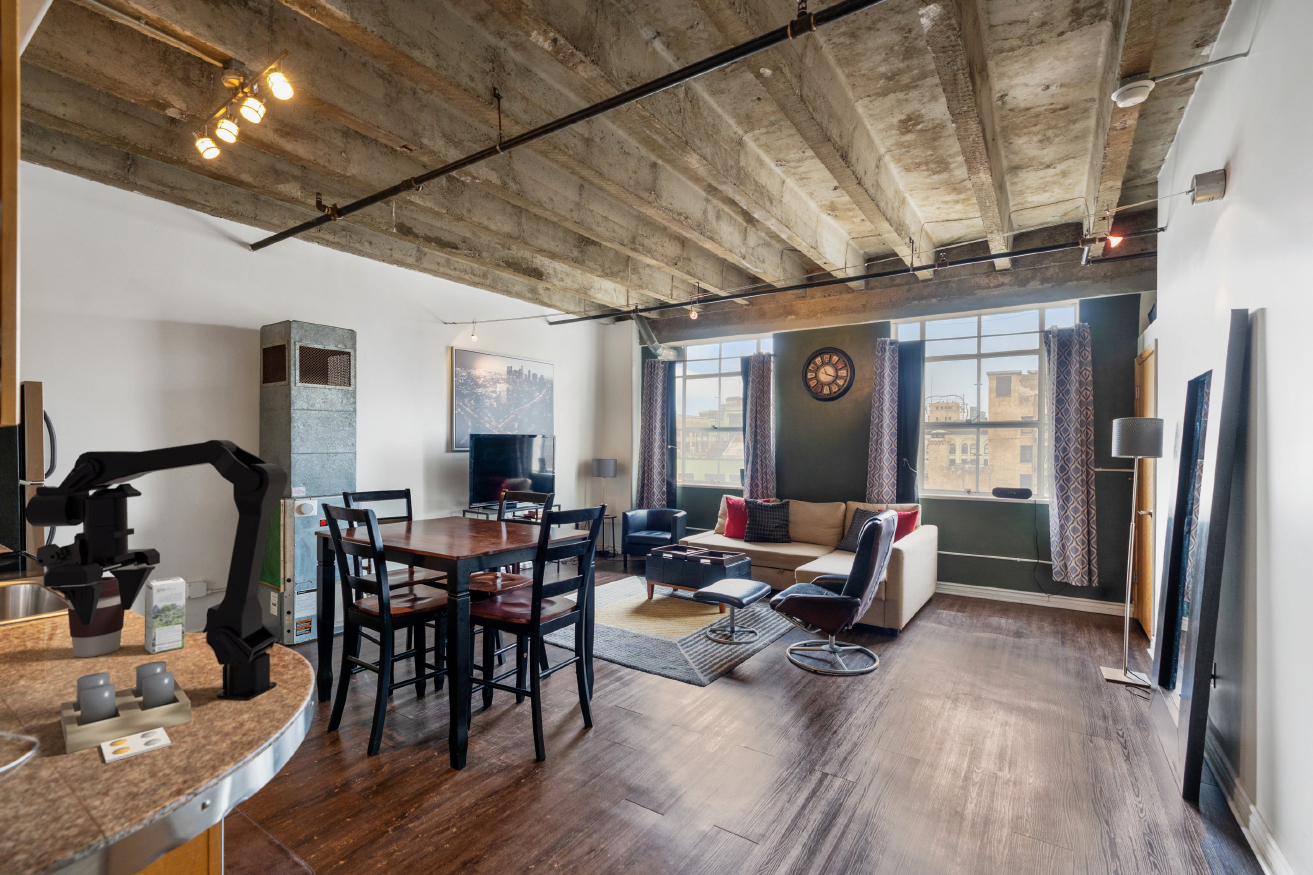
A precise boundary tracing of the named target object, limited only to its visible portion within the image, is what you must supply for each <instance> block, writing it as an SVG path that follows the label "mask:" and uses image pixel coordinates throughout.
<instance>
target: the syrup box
mask: <svg viewBox="0 0 1313 875" xmlns="http://www.w3.org/2000/svg"><path fill="white" fill-rule="evenodd" d="M186 583H187V582H186V580H184V578H182V577H180V576H174V577H165V578H159V579H152V580H146V581H145V583H144V585H145V586H144V587H145V588H144V589H145V590H144V649H145V650H146V652H147V651H148V653H150V654H152V655H153V654H160V653H164V652H169V651H170V652H171V651H174V650H178V649H183V648H185V646H186V645H185V644H186V642H185V641H186V587H187V586H186ZM181 634H185V635H181Z"/></svg>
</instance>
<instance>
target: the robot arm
mask: <svg viewBox="0 0 1313 875" xmlns="http://www.w3.org/2000/svg"><path fill="white" fill-rule="evenodd" d="M209 464H210V465H211V466H213V468H214V469H215V470H216V471H217V472H218V473H219V474H220V476H221V477H222V478H224V479H225V480H226V481H228V483H230V484H232V486H233V487H232V488H233V491H232V492H233V495H232V496H233V501H234V504H235V507H236V509H237V512H238V518H237V525H236V531H235V536H234V542H233V547H232V548H233V549H232V555H231V560H230V565H229V570H228V575H227V576H228V577H227V582H226V587H225V594H224V597H223V599H222V601H221V602H220V603H218V604H215V605H212V606H211V607H209V608H207V611H206V623H205V627H204V628H203V629H202V633H203V634H205V633H206V635H205V641H206V644H207V645H208V646H209V647H210V648H211V649H212V651H213V653H214V655H215V658H216V660H217V663H218V665H221V666H222V691H220V692H218V693H216V694H215V698H221V699H235V700H250V699H253V698H254V697H257V696H259V695H261V694H263V693H265V692H267V691H268V690H271V689H272V688H275V687H276V686H277V685H278V683H277V682H276V681H271V653H270V652H268V653H267V651H269V650H270V649H271V650H272V649H273V648H274V646H275V643H276V641H277V639H278V637H277V635H276V634H275V633H274V632H272V630H270V629H269V628H268V626H266V625H264V623H263V609H262V605H261V603H260V599H259V598H258V597H259V596H258V592H259V585H260V580H261V575H262V574H261V573H262V569H263V563H264V556H265V551H266V546H267V540H268V533H269V529H270V521H271V517H272V514H273V513H274V511H275V510H276V508H277V506H278V505H279V503H280V502H281V500H282V498H283V495H284V492H285V489H286V487H287V485H288V474H287V472H286V471H285V470H284V469H283V467H281V466H280V465H278V464H275V463H271V462H270V463H269V462H267V461H266V460H264V459H263V458H262V457H260V456H257V455H255V454H253V453H252V452H249V451H248V450H245V449H243V448H241V447H240V446H239V445H238V444H236V443H235V442H233V441H232V440H229V439H210V440H208V441H205V442H198V443H192V444H185V445H184V444H183V445H178V446H177V445H176V446H171V447H163V448H157V449H156V448H155V449H150V450H142V451H140V450H139V451H138V450H137V451H136V450H135V451H133V450H131V451H130V450H105V451H104V450H102V451H101V450H99V451H98V450H96V451H95V450H94V451H93V450H92V451H85V452H83V453H81V454H80V455H78V458H77V459H76V460H75V462H74V466H73V467H72V469H71V470H70V472H69V473H68V474H67V476H66V477H65V478H64V479H63V481H62V482H61V483H60V485H59V486H55V485H53V486H52V485H50V486H38V487H35V494H34V495H33V496H32V497H31V498H30V499H29V500H28V501H27V504H26V507H25V508H24V516H25V518H26V521H27V522H28V524H30V525H31V526H32V527H34V528H47V527H50V528H51V527H52V528H53V527H54V528H55V527H76V526H79V525H81V524H82V532H77V533H76V534H75V535H74V536H73V537H74V539H73V543H70V544H67V545H63V546H59V545H58V544H56V543H52V544H46V545H42V546H40V547H37V549H36V561H35V562H36V565H38V566H40V567H42V568H44V567H46V571H45V572H44V573H42V586H43V587H44V588H46V587H47V588H48V587H49V589H51V590H52V591H57V592H59V593H61V594H63V595H64V594H65V595H66V596H67V597H68V599H69V600H70V602H71V603H72V605H73V607H74V609H75V611H76V613H77V615H78V617H79V619H80V621H81V623H82V625H90V624H91V623H92V620H93V618H94V615H95V611H96V608H97V604H98V601H99V597H100V594H101V591H102V587H103V584H104V582H96V581H100V579H101V577H104V573H106V572H109V573H110V574H111V575H112V577H116V578H117V580H118V585H119V593H120V601H121V606H122V610H125V611H129V610H131V609H132V607H133V605H134V603H135V601H136V600H137V597H138V596H139V594H140V592H141V591H142V588H143V586H144V585H145V582H146V581H148V578H149V576H150V575H151V573H152V572H153V570H155V569H156V565H157V564H158V565H159V564H160V563H161V552H159V551H158V550H157V549H156V548H153V547H151V548H131V549H129V536H132V535H135V528H134V527H133V528H129V525H128V524H129V518H128V517H129V516H128V515H129V514H128V498H136V497H141V496H142V492H141V491H140V490H138V489H137V488H135V487H133V486H132V485H131V483H129V481H132V480H136V479H139V478H141V477H143V476H145V475H148V474H151V473H154V472H155V473H156V472H160V471H168V470H174V469H183V468H188V467H196V466H201V465H202V466H203V465H209ZM126 482H128V483H126ZM117 484H118V485H117ZM114 485H117V486H116V487H114V488H113V486H114ZM90 491H91V492H92V491H93V492H92V494H90ZM69 600H68V601H69ZM270 688H271V689H270ZM266 690H267V691H266ZM260 693H261V694H260Z"/></svg>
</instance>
